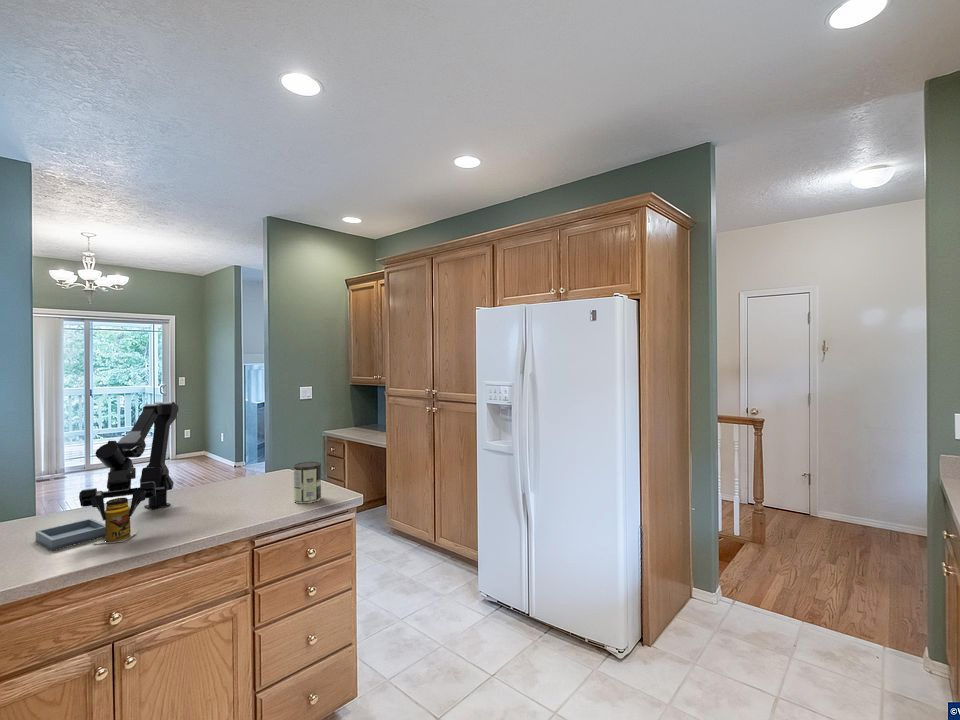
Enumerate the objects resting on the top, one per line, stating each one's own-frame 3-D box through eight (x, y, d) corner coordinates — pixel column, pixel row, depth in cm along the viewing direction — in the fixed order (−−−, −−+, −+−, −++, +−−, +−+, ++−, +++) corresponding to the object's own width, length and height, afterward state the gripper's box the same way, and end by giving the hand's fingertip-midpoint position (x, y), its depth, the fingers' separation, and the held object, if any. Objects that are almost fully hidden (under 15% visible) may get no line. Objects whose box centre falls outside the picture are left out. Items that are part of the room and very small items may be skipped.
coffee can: (309, 494, 189) (309, 460, 189) (326, 498, 184) (326, 463, 184) (287, 501, 181) (287, 465, 181) (304, 505, 175) (304, 468, 175)
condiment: (124, 541, 139) (123, 502, 139) (92, 545, 137) (91, 504, 137) (137, 533, 146) (136, 495, 146) (106, 536, 144) (105, 497, 144)
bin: (35, 541, 140) (35, 531, 140) (91, 527, 152) (91, 518, 152) (51, 550, 133) (51, 540, 133) (108, 535, 145) (108, 526, 145)
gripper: (79, 463, 140) (73, 509, 131) (155, 456, 151) (154, 498, 141) (84, 484, 147) (78, 529, 138) (155, 475, 157) (154, 517, 148)
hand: (117, 517), depth 141 cm, fingers closed on condiment, 6 cm apart
